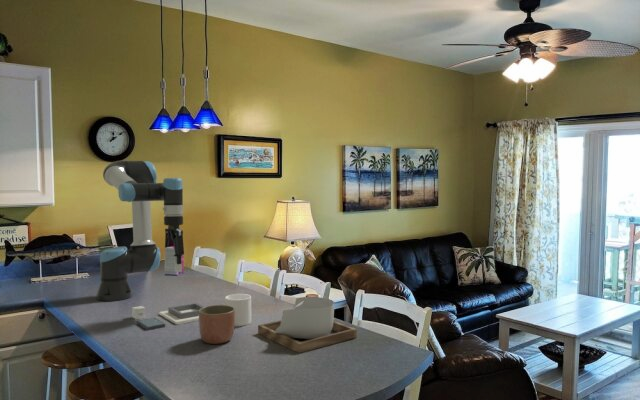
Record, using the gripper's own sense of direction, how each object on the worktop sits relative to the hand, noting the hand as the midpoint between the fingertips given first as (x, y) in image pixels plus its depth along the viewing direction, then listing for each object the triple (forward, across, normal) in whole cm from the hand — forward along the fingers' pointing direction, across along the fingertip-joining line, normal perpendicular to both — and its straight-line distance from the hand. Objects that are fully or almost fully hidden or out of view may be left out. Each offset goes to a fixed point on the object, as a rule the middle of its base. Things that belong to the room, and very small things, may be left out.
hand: (174, 270), depth 205 cm
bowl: (+19, +54, +28) cm, 64 cm away
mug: (+19, +25, +15) cm, 35 cm away
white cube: (+18, -5, -13) cm, 23 cm away
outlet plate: (+18, +5, +4) cm, 19 cm away
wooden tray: (+20, +54, +28) cm, 64 cm away
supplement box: (+2, 0, 0) cm, 2 cm away
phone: (+18, +9, -13) cm, 24 cm away
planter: (+19, +40, 0) cm, 44 cm away
